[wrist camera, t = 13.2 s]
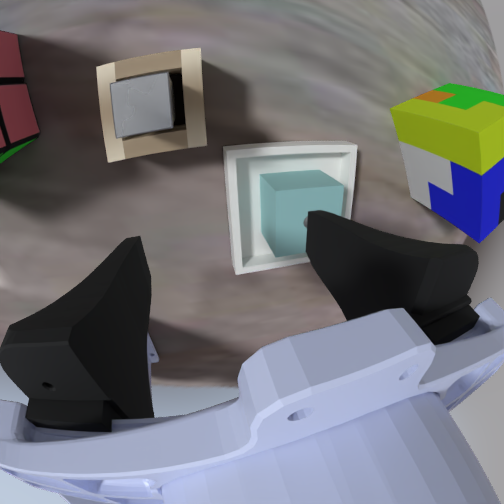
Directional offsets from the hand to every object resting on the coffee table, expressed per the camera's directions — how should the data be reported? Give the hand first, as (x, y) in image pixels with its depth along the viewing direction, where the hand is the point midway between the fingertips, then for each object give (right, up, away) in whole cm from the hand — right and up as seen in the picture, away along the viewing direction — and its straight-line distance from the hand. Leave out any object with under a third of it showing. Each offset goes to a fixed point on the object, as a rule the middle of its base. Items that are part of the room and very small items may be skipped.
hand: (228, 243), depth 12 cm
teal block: (+4, +4, +11) cm, 12 cm away
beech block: (-6, +10, +5) cm, 12 cm away
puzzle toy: (+20, +12, +11) cm, 26 cm away
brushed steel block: (-6, +10, +5) cm, 12 cm away
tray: (+4, +4, +11) cm, 13 cm away
